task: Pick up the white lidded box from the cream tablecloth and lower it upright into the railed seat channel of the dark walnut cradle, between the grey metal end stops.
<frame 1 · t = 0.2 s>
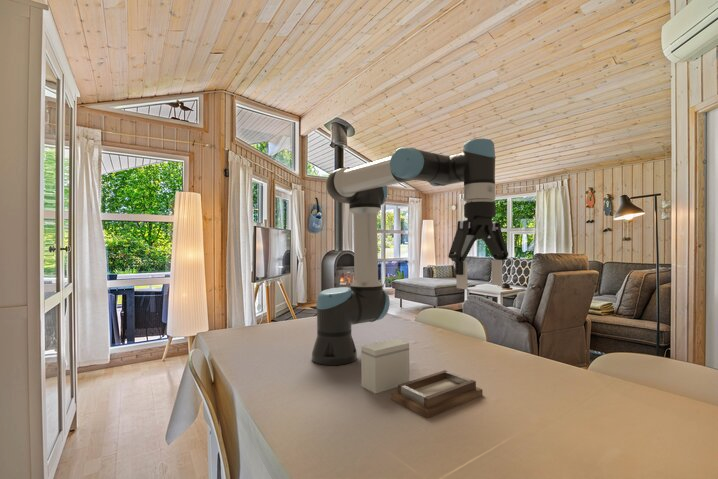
hand: (480, 286, 89), 27 cm above the table, fingers open, 13 cm apart
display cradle: (437, 397, 88), on the table
white lidded box: (385, 384, 97), on the table
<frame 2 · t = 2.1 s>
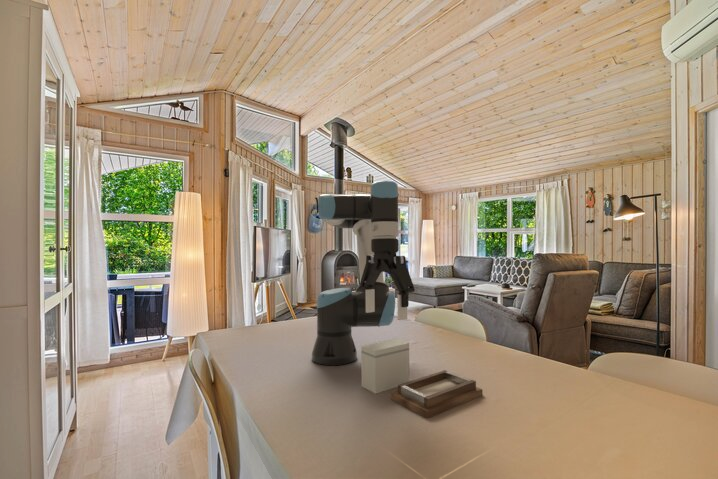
hand: (385, 315, 97), 19 cm above the table, fingers open, 13 cm apart
nothing on the table moved.
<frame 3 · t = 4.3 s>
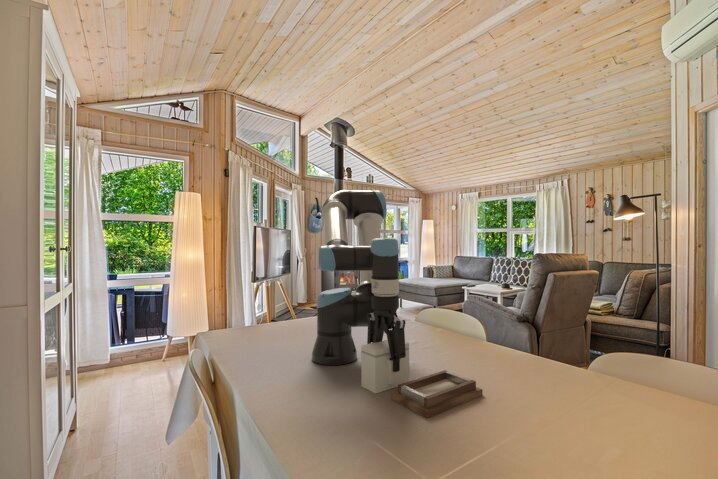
hand: (385, 379, 97), 1 cm above the table, fingers closed on white lidded box, 6 cm apart
white lidded box: (385, 384, 97), on the table, touching gripper
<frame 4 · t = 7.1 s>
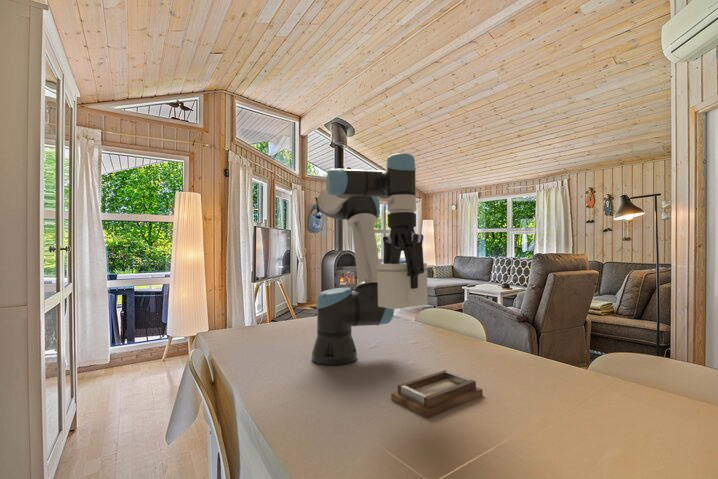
hand: (403, 299, 93), 24 cm above the table, fingers closed on white lidded box, 6 cm apart
white lidded box: (403, 305, 93), point 22 cm above the table, touching gripper
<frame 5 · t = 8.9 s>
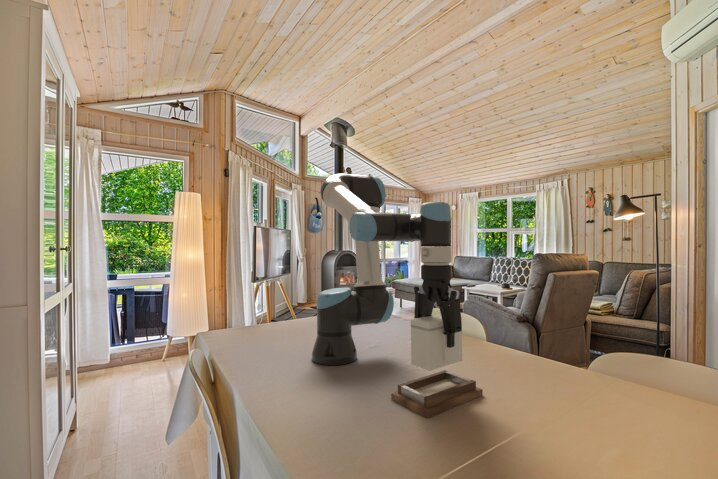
hand: (437, 356, 89), 10 cm above the table, fingers closed on white lidded box, 6 cm apart
white lidded box: (437, 362, 89), point 9 cm above the table, touching gripper
when the fingers open (5 cm above the table, at t = 10.3 s): white lidded box drops 2 cm, resting on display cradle.
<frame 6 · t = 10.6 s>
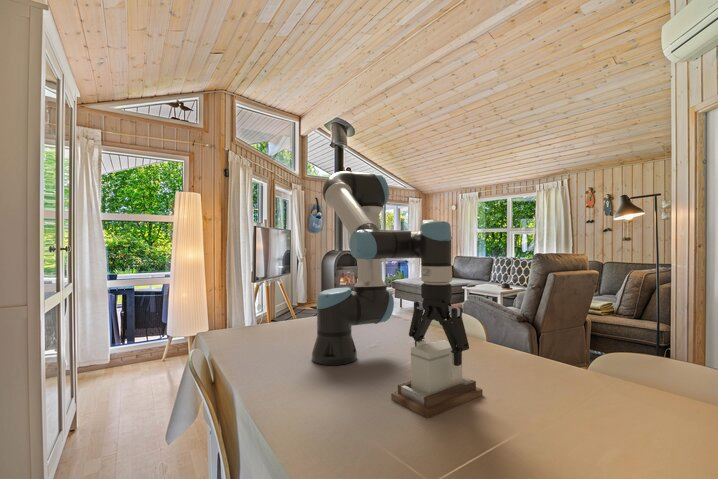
hand: (437, 371, 89), 6 cm above the table, fingers open, 10 cm apart
white lidded box: (437, 390, 88), point 2 cm above the table, touching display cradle
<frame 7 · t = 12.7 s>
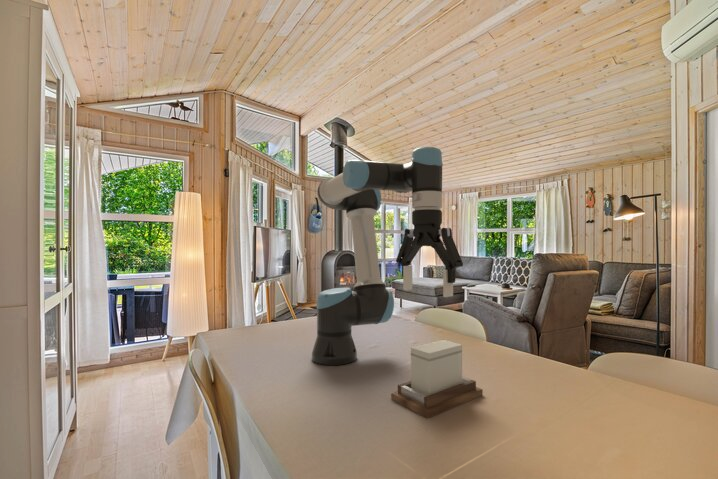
hand: (426, 293, 90), 26 cm above the table, fingers open, 13 cm apart
nothing on the table moved.
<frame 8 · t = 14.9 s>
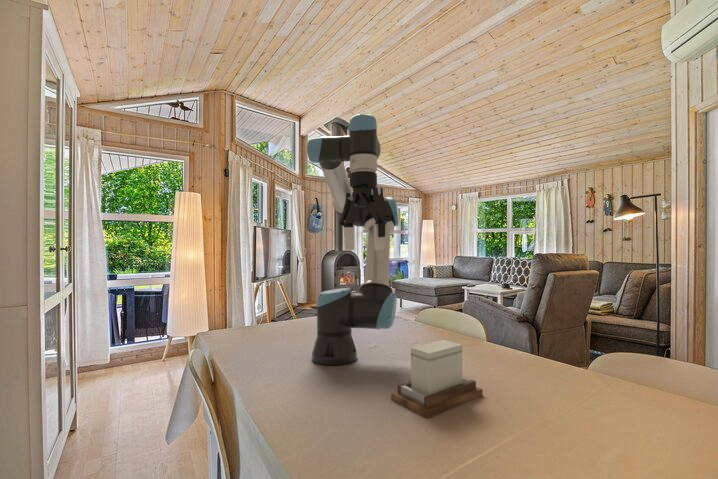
hand: (363, 250, 97), 37 cm above the table, fingers open, 13 cm apart
nothing on the table moved.
at the end: white lidded box 0.1 cm off-centre on the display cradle, point 1.7 cm above the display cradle's base; white lidded box tilted 0°; the gripper is holding nothing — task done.
